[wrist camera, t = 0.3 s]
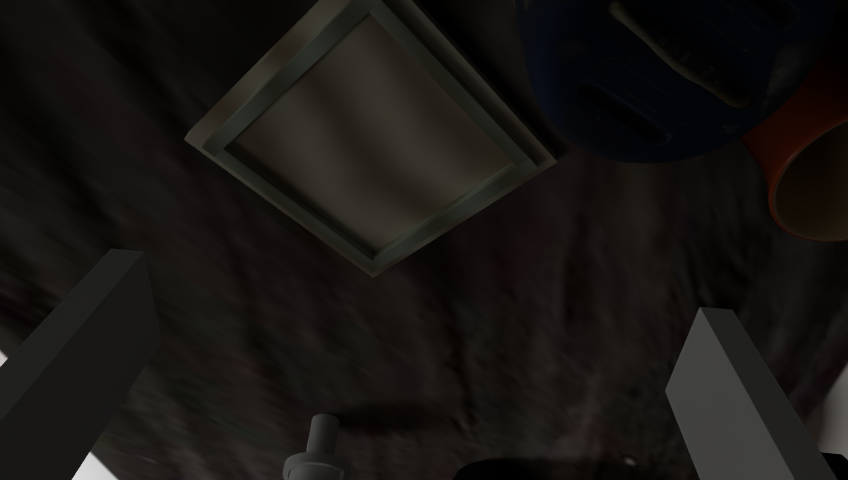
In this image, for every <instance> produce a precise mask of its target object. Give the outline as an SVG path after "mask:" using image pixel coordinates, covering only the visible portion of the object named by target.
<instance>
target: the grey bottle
mask: <svg viewBox="0 0 848 480" xmlns="http://www.w3.org/2000/svg"><path fill="white" fill-rule="evenodd" d="M338 427H339V420H338V418H336V417H335V416H333V415H330V414H318V415H315V416H314V417H313V418H312V423H311V429H310V435H309V440H308V445H307V451H306V452H304V453H299V454H295V455H293V456H291V457H289V458H288V459H287V460H286V461H285V465H284V470H283V478H284V479H285V480H350V474H351V468H350V466H349V464H348V463H347V462H346V461H344V460H343V459H341V458H339V457H336V456H334V453H335V447H336V440H337V433H338Z"/></svg>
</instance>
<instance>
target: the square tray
mask: <svg viewBox="0 0 848 480" xmlns="http://www.w3.org/2000/svg"><path fill="white" fill-rule="evenodd" d="M184 140H186V141H187V142H188V143H190V144H191V145H192V146H194V147H195V148H197V149H198V150H199V151H201V152H202V153H203V154H205V155H206V156H207V157H209V158H210V159H212V160H213V161H214V162H216V163H217V164H218V165H220V166H221V167H222V168H224V169H225V170H227V171H228V172H229V173H231V174H232V175H233V176H235V177H236V178H237V179H239V180H240V181H242V182H243V183H244V184H246V185H247V186H248V187H250V188H251V189H252V190H254V191H255V192H257V193H258V194H259V195H261V196H262V197H263V198H265V199H266V200H268V201H269V202H270V203H272V204H273V205H274V206H276V207H277V208H278V209H280V210H281V211H283V212H284V213H285V214H287V215H288V216H289V217H291V218H292V219H293V220H295V221H296V222H298V223H299V224H300V225H302V226H303V227H304V228H306V229H307V230H308V231H310V232H311V233H313V234H314V235H315V236H317V237H318V238H319V239H321V240H322V241H323V242H325V243H326V244H328V245H329V246H330V247H332V248H333V249H334V250H336V251H337V252H339V253H340V254H341V255H343V256H344V257H345V258H347V259H348V260H349V261H351V262H352V263H354V264H355V265H356V266H358V267H359V268H360V269H362V270H363V271H364V272H366V273H367V274H369V275H370V276H371V277H373V278H374V277H375V276H377V275H378V274H380V273H382V272H383V271H385V270H386V269H388V268H389V267H391V266H393V265H394V264H396V263H397V262H399V261H401V260H402V259H404V258H405V257H407V256H409V255H410V254H412V253H413V252H415V251H417V250H418V249H420V248H421V247H423V246H425V245H426V244H428V243H429V242H431V241H433V240H434V239H436V238H437V237H439V236H440V235H442V234H444V233H445V232H447V231H448V230H450V229H452V228H453V227H455V226H456V225H458V224H460V223H461V222H463V221H464V220H466V219H468V218H469V217H471V216H472V215H474V214H476V213H477V212H479V211H480V210H482V209H483V208H485V207H487V206H488V205H490V204H491V203H493V202H495V201H496V200H498V199H499V198H501V197H503V196H504V195H506V194H507V193H509V192H511V191H512V190H514V189H515V188H517V187H519V186H520V185H522V184H523V183H525V182H527V181H528V180H530V179H531V178H533V177H534V176H536V175H538V174H539V173H541V172H542V171H544V170H546V169H547V168H549V167H550V166H552V165H554V164H555V163H557V158H556V153H555V152H554V151H553V150H552V149H551V148H550V147H549V146H548V145H547V143H546V142H545V141H544V140H543V139H542V138H541V137H540V136H539V134H538V133H537V132H536V131H535V130H534V129H533V128H532V127H531V126H530V124H529V123H528V122H527V121H526V120H525V119H524V118H523V117H522V115H521V114H520V113H519V112H518V111H517V110H516V109H515V108H514V107H513V105H512V104H511V103H510V102H509V101H508V100H507V99H506V98H505V96H504V95H503V94H502V93H501V92H500V91H499V90H498V89H497V88H496V86H495V85H494V84H493V83H492V82H491V81H490V80H489V79H488V77H487V76H486V75H485V74H484V73H483V72H482V71H481V70H480V69H479V67H478V66H477V65H476V64H475V63H474V62H473V61H472V60H471V58H470V57H469V56H468V55H467V54H466V53H465V52H464V51H463V49H462V48H461V47H460V46H459V45H458V44H457V43H456V42H455V41H454V39H453V38H452V37H451V36H450V35H449V34H448V33H447V32H446V30H445V29H444V28H443V27H442V26H441V25H440V24H439V23H438V22H437V20H436V19H435V18H434V17H433V16H432V15H431V14H430V13H429V11H428V10H427V9H426V8H425V7H424V6H423V5H422V4H421V3H420V1H419V0H319V1H318V2H317V3H316V4H315V5H314V6H313V7H312V8H311V9H310V10H309V11H308V12H307V13H306V14H305V15H304V16H303V17H302V18H301V19H300V20H299V21H298V22H297V23H296V24H295V25H294V26H293V27H292V28H291V29H290V30H289V31H288V32H287V33H286V34H285V35H284V36H283V37H282V38H281V39H280V40H279V41H278V42H277V43H276V44H275V45H274V46H273V47H272V48H271V49H270V50H269V51H268V52H267V53H266V54H265V55H264V56H263V57H262V58H261V59H260V60H259V61H258V62H257V63H256V64H255V65H254V66H253V67H252V68H251V69H250V70H249V71H248V72H247V73H246V74H245V75H244V76H243V77H242V78H241V79H240V80H239V81H238V82H237V83H236V84H235V85H234V86H233V88H232V89H231V90H230V91H229V92H228V93H227V94H226V95H225V96H224V97H223V98H222V99H221V100H220V101H219V102H218V103H217V104H216V105H215V106H214V107H213V108H212V109H211V110H210V111H209V112H208V113H207V114H206V115H205V116H204V117H203V118H202V119H201V120H200V121H199V122H198V123H197V124H196V125H195V126H194V127H193V128H192V129H191V130H190V131H189V132H188V134H187V136H186V137H185V139H184Z"/></svg>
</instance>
